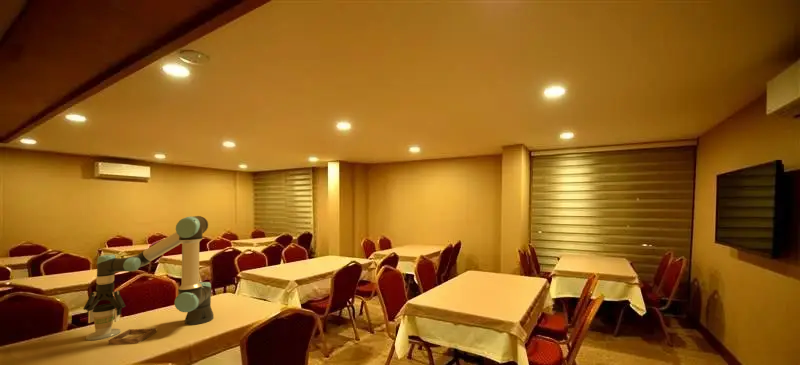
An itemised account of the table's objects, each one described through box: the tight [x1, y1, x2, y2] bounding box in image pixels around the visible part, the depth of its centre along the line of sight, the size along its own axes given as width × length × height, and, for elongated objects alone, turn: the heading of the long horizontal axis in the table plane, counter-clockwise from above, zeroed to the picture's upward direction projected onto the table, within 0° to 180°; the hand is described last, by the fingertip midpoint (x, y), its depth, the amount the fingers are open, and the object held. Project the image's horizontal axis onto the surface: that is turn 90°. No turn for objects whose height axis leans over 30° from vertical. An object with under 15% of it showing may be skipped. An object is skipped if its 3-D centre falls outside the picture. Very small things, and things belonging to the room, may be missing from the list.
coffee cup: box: [92, 302, 116, 336], centre depth 182 cm, size 10×10×15 cm
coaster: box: [85, 328, 121, 342], centre depth 182 cm, size 14×14×1 cm
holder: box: [108, 327, 157, 345], centre depth 177 cm, size 14×14×2 cm
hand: (104, 321), depth 182 cm, fingers open, 13 cm apart
